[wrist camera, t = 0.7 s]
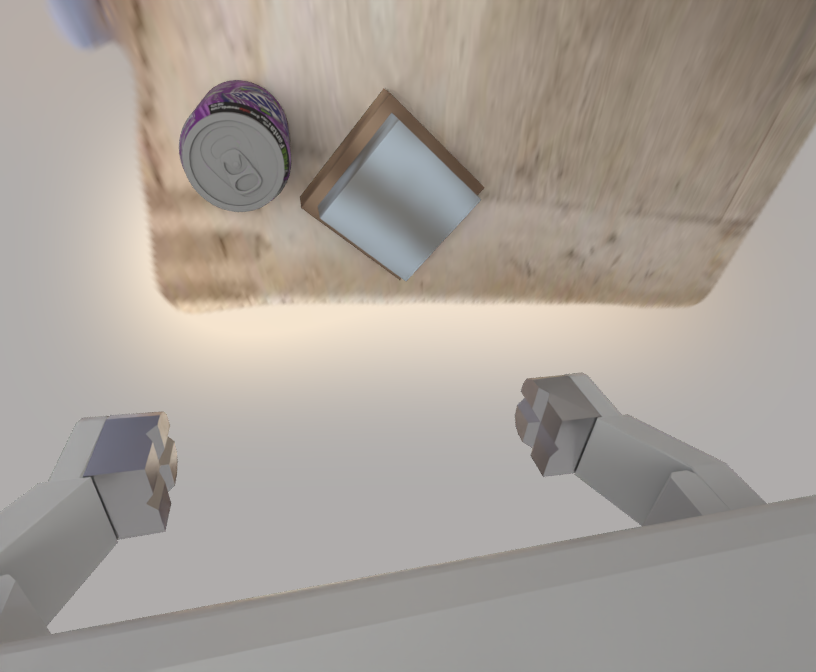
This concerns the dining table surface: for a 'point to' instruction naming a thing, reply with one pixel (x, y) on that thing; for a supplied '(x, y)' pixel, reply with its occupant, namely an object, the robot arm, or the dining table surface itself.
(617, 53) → the dining table surface
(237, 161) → the beverage can
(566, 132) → the dining table surface
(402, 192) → the stepped plinth
